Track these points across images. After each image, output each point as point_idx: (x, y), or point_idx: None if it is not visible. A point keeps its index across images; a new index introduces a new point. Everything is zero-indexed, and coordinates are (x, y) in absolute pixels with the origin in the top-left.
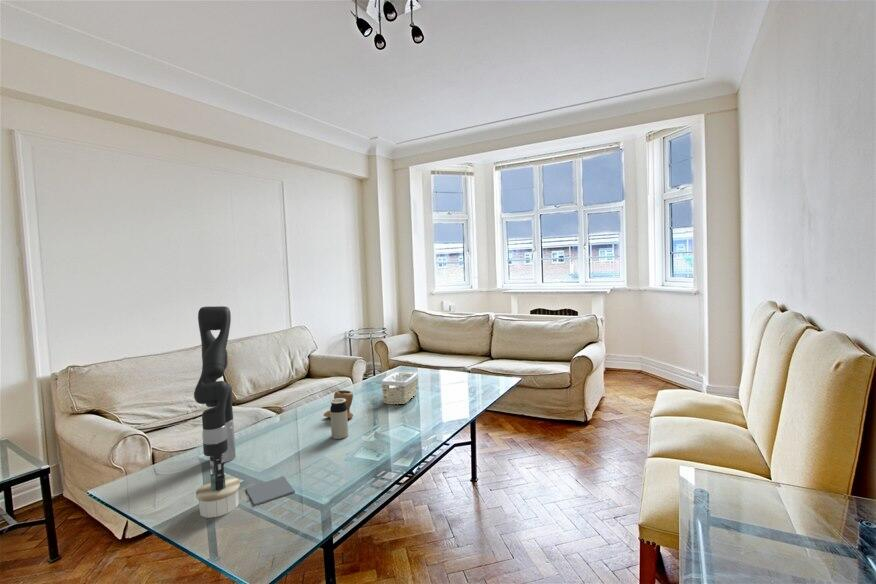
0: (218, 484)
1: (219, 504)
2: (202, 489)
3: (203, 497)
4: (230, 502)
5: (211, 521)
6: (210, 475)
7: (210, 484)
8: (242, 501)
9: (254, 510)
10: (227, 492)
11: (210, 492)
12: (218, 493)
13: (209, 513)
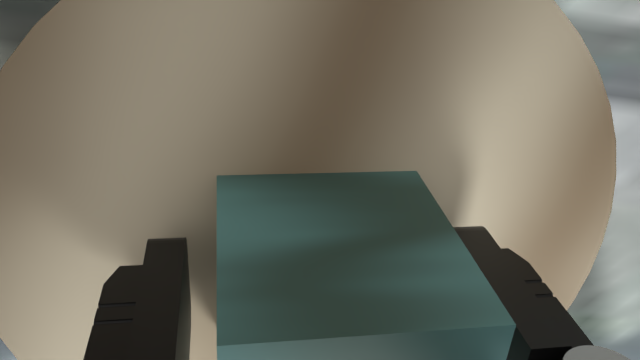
0: (93, 352)
1: None
2: (435, 41)
3: (68, 9)
4: None
5: (3, 4)
6: (469, 320)
7: (510, 172)
8: None
9: (7, 357)
10: (33, 342)
11: (209, 141)
12: (77, 241)
13: None
